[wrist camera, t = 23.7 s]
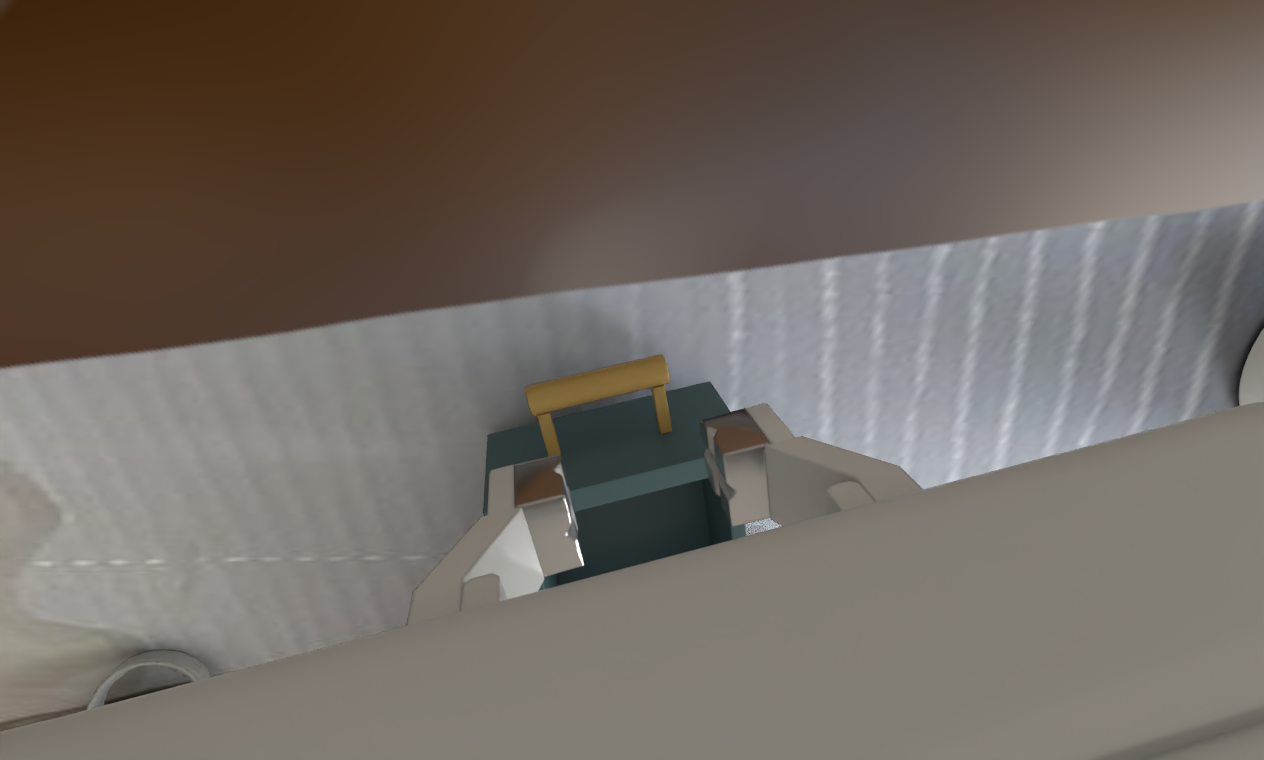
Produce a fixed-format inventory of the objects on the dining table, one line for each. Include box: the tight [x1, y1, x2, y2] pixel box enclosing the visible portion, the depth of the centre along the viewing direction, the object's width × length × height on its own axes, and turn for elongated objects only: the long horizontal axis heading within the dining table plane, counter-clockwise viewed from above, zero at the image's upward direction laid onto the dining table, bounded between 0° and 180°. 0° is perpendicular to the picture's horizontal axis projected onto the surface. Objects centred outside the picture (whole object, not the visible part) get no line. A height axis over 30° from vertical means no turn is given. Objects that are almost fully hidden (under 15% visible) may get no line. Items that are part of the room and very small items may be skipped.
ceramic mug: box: [86, 650, 211, 710], centre depth 35 cm, size 11×8×8 cm
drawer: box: [483, 354, 747, 591], centre depth 33 cm, size 20×12×7 cm, turn 10°
